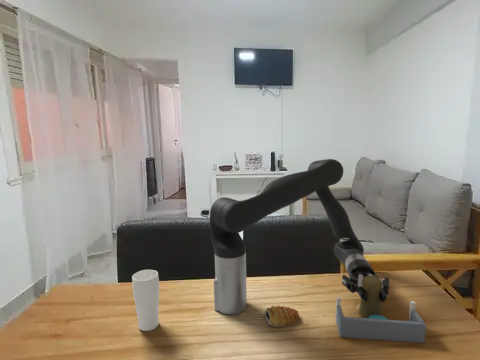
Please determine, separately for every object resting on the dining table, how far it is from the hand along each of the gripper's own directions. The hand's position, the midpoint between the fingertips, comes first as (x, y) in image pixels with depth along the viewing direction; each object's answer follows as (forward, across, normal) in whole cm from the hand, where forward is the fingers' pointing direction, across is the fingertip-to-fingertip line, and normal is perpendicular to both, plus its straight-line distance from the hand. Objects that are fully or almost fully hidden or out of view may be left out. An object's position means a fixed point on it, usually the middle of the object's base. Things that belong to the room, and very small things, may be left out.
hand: (374, 298), depth 81 cm
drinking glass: (+9, -61, +7) cm, 62 cm away
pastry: (+2, -25, +8) cm, 26 cm away
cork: (-3, 0, +7) cm, 7 cm away
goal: (+3, 0, +7) cm, 8 cm away
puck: (+3, 0, +7) cm, 8 cm away
